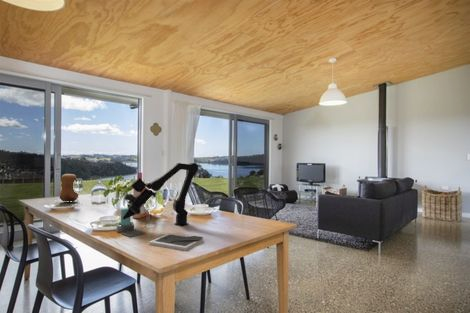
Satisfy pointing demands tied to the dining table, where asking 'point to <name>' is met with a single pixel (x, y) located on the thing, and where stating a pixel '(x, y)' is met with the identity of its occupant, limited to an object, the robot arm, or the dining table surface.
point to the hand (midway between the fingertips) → (122, 217)
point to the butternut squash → (68, 188)
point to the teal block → (123, 212)
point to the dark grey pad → (133, 233)
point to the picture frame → (177, 241)
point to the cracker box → (142, 209)
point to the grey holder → (125, 227)
